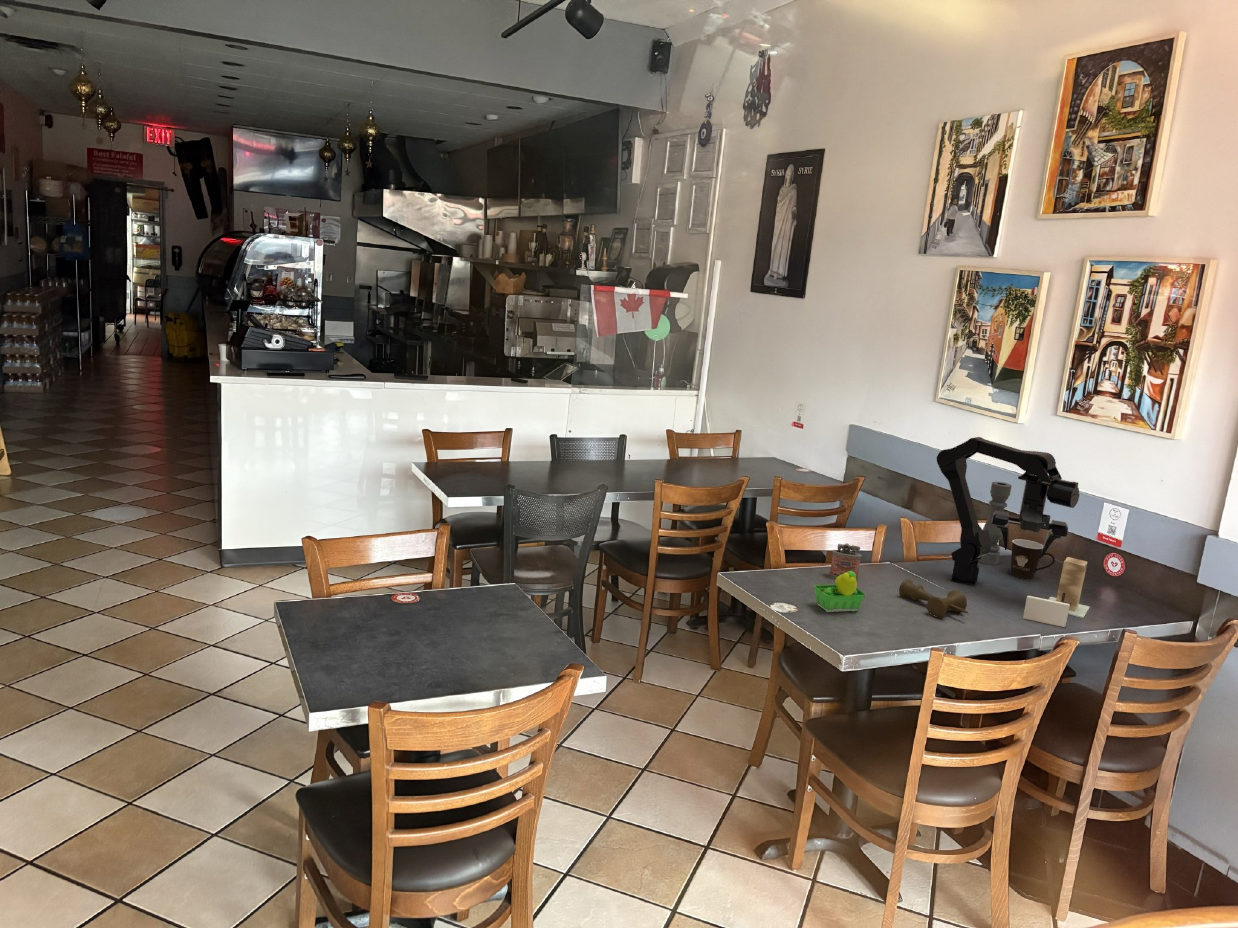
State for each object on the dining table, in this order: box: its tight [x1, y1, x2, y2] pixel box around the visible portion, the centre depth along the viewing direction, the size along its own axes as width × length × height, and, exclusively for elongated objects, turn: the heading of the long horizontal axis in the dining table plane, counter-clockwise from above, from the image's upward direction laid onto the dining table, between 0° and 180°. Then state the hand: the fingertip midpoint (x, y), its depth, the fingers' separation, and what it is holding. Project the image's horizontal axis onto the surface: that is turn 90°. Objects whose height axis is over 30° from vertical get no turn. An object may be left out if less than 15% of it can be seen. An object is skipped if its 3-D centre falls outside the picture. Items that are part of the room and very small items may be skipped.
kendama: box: [898, 579, 969, 619], centre depth 235 cm, size 6×10×20 cm
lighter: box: [828, 542, 863, 582], centre depth 252 cm, size 8×3×10 cm, turn 73°
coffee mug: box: [1009, 538, 1056, 580], centre depth 266 cm, size 12×9×10 cm
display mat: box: [1047, 596, 1091, 619], centre depth 244 cm, size 10×10×1 cm
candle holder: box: [978, 481, 1012, 566], centre depth 276 cm, size 6×6×25 cm
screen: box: [1022, 595, 1070, 628], centre depth 232 cm, size 10×1×6 cm, turn 67°
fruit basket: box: [813, 571, 867, 610], centre depth 228 cm, size 11×9×11 cm
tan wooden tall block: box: [1055, 556, 1088, 611], centre depth 243 cm, size 5×5×13 cm
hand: (1023, 553), depth 246 cm, fingers open, 9 cm apart
